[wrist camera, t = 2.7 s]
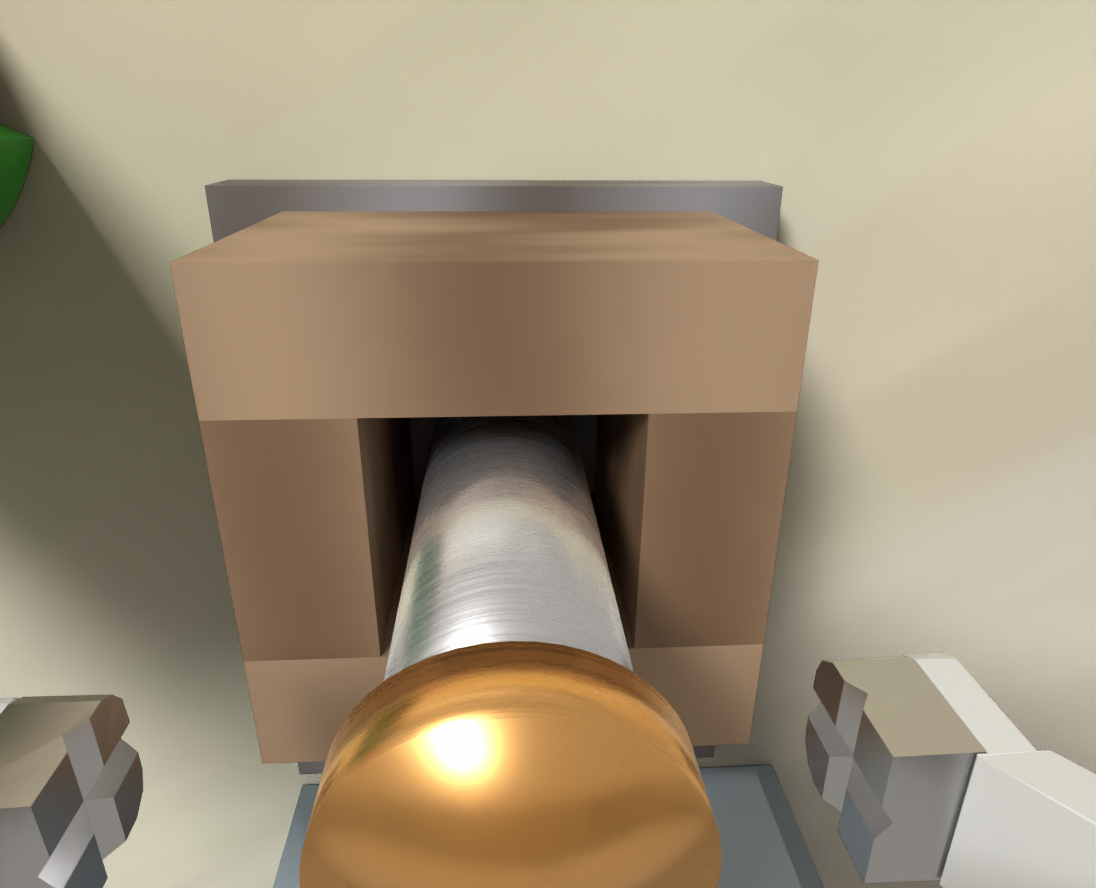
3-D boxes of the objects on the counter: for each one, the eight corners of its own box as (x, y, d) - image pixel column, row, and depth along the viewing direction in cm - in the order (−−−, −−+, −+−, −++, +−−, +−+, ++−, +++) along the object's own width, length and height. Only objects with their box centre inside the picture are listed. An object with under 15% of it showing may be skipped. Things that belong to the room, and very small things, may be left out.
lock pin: (587, 330, 17) (742, 709, 6) (582, 482, 19) (703, 1002, 8) (416, 332, 17) (271, 728, 6) (426, 485, 19) (324, 1025, 8)
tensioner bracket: (760, 181, 18) (928, 224, 11) (701, 720, 24) (783, 963, 17) (228, 179, 17) (45, 225, 10) (311, 735, 23) (233, 995, 16)
